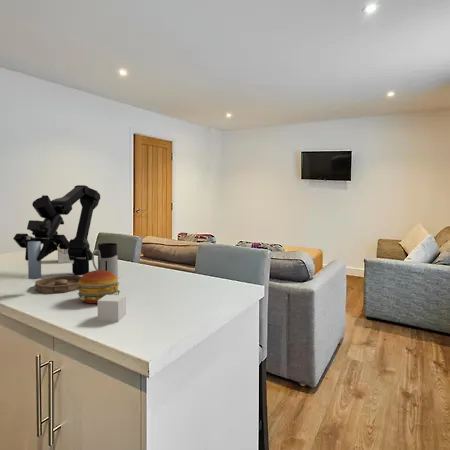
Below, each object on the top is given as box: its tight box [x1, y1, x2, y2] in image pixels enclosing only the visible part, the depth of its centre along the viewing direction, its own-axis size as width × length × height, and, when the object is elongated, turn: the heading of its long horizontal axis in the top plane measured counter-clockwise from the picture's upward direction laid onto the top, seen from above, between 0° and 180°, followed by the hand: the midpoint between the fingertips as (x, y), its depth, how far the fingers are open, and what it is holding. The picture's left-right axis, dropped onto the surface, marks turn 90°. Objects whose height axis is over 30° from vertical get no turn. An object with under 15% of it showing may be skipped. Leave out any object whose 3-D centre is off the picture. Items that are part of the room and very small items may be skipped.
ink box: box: [57, 238, 74, 264], centre depth 183 cm, size 9×8×12 cm
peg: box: [27, 241, 42, 280], centre depth 123 cm, size 4×4×13 cm
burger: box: [77, 269, 121, 304], centre depth 117 cm, size 14×14×10 cm
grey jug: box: [91, 242, 120, 280], centre depth 142 cm, size 9×14×15 cm, turn 164°
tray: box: [34, 274, 82, 294], centre depth 133 cm, size 17×17×2 cm
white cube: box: [97, 294, 127, 323], centre depth 100 cm, size 6×6×6 cm
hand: (32, 260), depth 122 cm, fingers closed on peg, 4 cm apart
